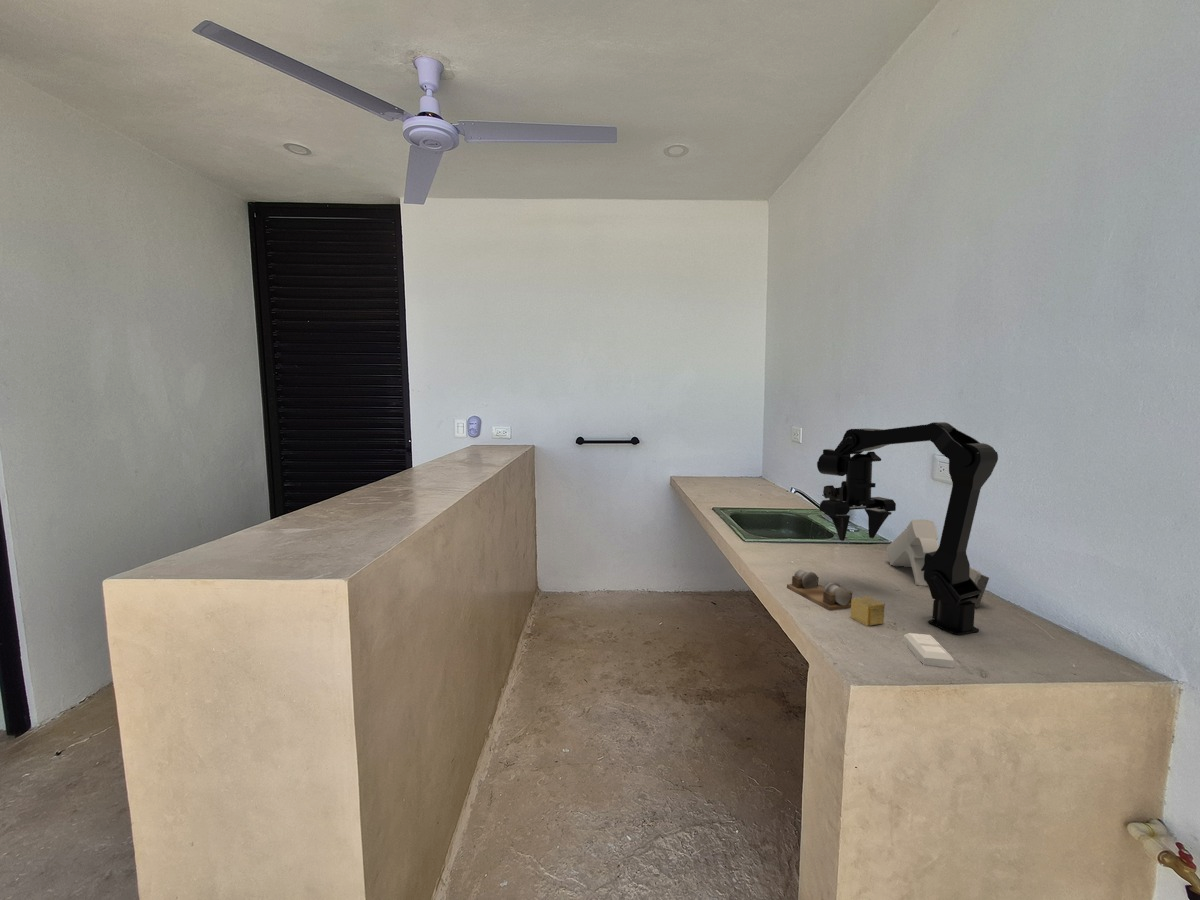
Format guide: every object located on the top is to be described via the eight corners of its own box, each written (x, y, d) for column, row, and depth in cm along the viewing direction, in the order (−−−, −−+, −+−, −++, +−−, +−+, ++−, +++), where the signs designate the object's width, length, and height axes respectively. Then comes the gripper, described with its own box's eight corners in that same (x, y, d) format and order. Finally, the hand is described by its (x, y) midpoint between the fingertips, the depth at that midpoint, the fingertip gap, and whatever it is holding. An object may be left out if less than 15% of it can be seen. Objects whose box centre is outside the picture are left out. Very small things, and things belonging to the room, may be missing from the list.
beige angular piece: (908, 547, 146) (935, 518, 130) (921, 601, 137) (952, 576, 121) (885, 546, 147) (910, 516, 131) (896, 599, 138) (924, 574, 122)
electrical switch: (936, 594, 122) (942, 558, 121) (956, 596, 122) (963, 560, 121) (964, 609, 113) (971, 571, 112) (986, 612, 113) (993, 573, 112)
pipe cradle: (857, 606, 114) (858, 586, 113) (829, 610, 111) (830, 589, 111) (812, 584, 128) (812, 566, 128) (786, 587, 126) (787, 569, 125)
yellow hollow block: (885, 624, 105) (886, 604, 104) (868, 627, 103) (869, 607, 103) (865, 614, 110) (866, 595, 109) (849, 617, 108) (850, 597, 108)
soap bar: (930, 646, 96) (931, 633, 96) (953, 670, 87) (954, 655, 87) (903, 643, 97) (903, 630, 97) (923, 666, 88) (924, 652, 88)
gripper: (863, 473, 132) (861, 529, 133) (805, 475, 127) (804, 534, 128) (898, 478, 121) (896, 539, 122) (837, 481, 116) (835, 545, 117)
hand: (856, 539), depth 123 cm, fingers open, 9 cm apart
